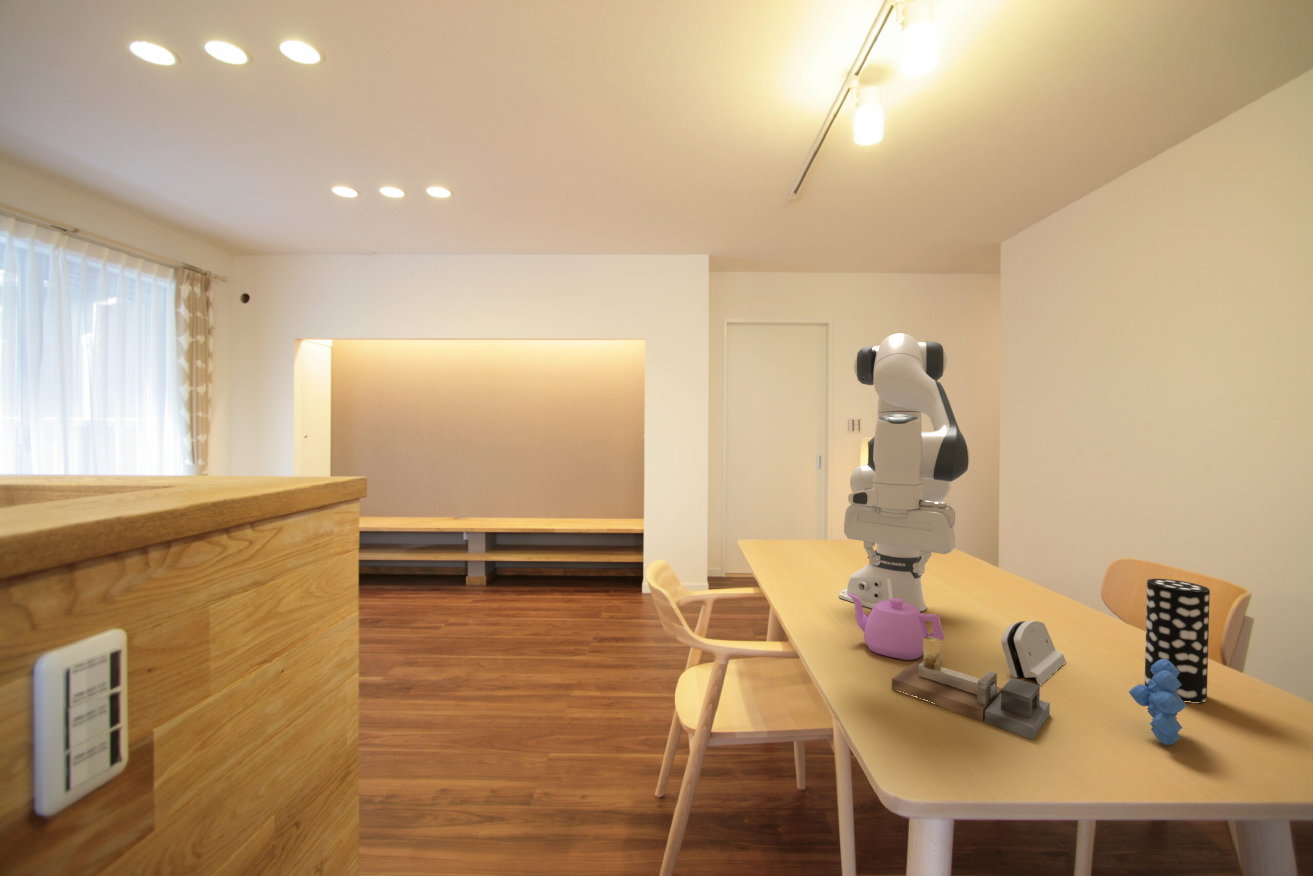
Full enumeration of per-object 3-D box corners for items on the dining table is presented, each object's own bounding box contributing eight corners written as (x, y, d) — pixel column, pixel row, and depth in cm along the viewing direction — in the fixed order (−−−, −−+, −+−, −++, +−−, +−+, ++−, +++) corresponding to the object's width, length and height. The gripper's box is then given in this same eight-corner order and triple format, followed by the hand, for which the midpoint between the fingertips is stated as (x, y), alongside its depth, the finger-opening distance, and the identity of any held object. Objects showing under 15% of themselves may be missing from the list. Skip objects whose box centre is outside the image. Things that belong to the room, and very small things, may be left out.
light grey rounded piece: (1040, 686, 102) (1021, 631, 105) (1013, 685, 106) (995, 632, 108) (1066, 662, 113) (1048, 613, 115) (1041, 662, 116) (1024, 615, 119)
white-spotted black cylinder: (1134, 686, 102) (1137, 581, 102) (1159, 678, 106) (1161, 576, 105) (1192, 707, 95) (1195, 593, 94) (1216, 698, 98) (1219, 588, 98)
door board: (891, 689, 100) (892, 660, 100) (915, 671, 108) (916, 644, 108) (1033, 739, 84) (1033, 705, 84) (1049, 714, 92) (1050, 683, 92)
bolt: (917, 676, 101) (917, 638, 101) (923, 671, 103) (924, 634, 103) (990, 700, 92) (991, 659, 92) (995, 694, 94) (996, 654, 94)
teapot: (854, 629, 131) (854, 584, 130) (947, 649, 119) (948, 599, 119) (837, 648, 120) (838, 598, 119) (938, 672, 108) (939, 616, 108)
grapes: (1127, 713, 93) (1128, 644, 92) (1182, 728, 88) (1183, 654, 88) (1128, 743, 84) (1130, 666, 83) (1189, 761, 79) (1191, 679, 79)
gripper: (961, 501, 100) (960, 576, 100) (855, 491, 115) (854, 557, 115) (949, 505, 95) (947, 583, 96) (840, 494, 110) (839, 562, 110)
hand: (895, 568), depth 105 cm, fingers open, 7 cm apart
